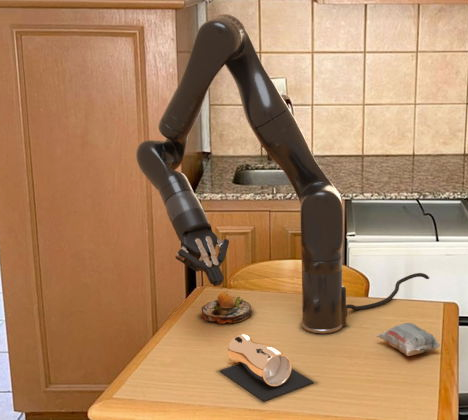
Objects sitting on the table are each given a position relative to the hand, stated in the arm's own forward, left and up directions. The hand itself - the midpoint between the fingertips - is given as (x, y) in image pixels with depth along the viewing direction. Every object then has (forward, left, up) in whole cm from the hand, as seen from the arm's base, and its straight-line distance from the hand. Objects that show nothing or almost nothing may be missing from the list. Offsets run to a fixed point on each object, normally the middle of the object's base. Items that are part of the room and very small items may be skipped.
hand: (218, 284), depth 172 cm
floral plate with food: (-8, -17, -15) cm, 25 cm away
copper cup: (-1, +7, -12) cm, 14 cm away
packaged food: (-35, +20, -15) cm, 43 cm away
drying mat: (-3, +16, -15) cm, 23 cm away
